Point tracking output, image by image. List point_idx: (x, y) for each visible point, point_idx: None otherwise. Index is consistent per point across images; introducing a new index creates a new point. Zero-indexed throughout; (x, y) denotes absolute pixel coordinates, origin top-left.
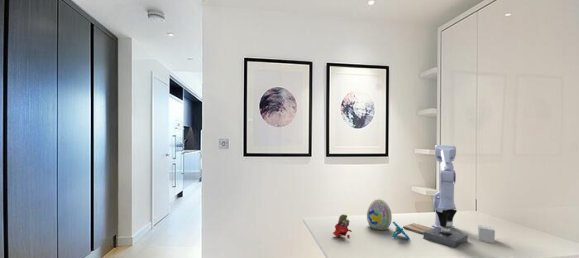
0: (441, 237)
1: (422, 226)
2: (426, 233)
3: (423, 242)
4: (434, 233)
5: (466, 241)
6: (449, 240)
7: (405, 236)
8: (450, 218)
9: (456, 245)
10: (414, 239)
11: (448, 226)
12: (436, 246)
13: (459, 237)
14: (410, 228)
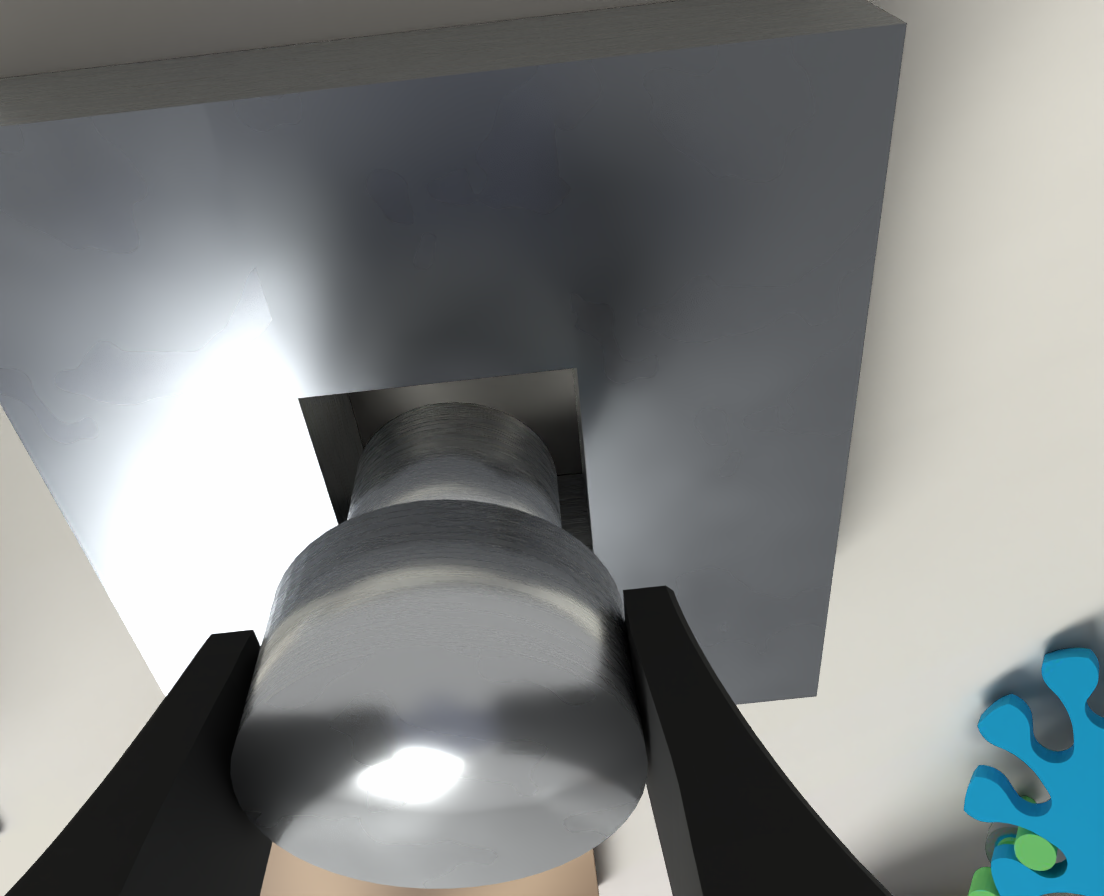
0: (851, 386)
1: (281, 858)
2: (815, 642)
3: (1020, 489)
4: (716, 580)
5: (39, 78)
6: (871, 184)
7: (1029, 713)
8: (185, 847)
9: (750, 3)
10: (978, 616)
11: (561, 564)
12: (1074, 265)
13: (390, 154)
14: (585, 856)
